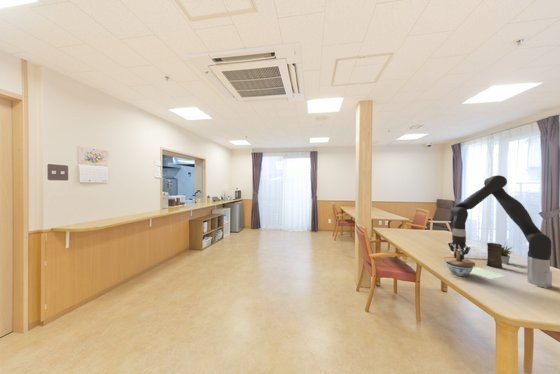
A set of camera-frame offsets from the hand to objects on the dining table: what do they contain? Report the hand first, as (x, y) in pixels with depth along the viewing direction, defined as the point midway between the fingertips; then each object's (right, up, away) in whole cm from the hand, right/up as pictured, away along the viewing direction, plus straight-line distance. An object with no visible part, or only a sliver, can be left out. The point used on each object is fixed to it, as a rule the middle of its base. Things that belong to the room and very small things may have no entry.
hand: (459, 258), depth 153 cm
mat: (+19, -11, +2) cm, 22 cm away
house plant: (+55, -11, +24) cm, 61 cm away
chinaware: (0, -12, 0) cm, 12 cm away
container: (+40, -11, +14) cm, 44 cm away
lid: (0, -3, 0) cm, 3 cm away
